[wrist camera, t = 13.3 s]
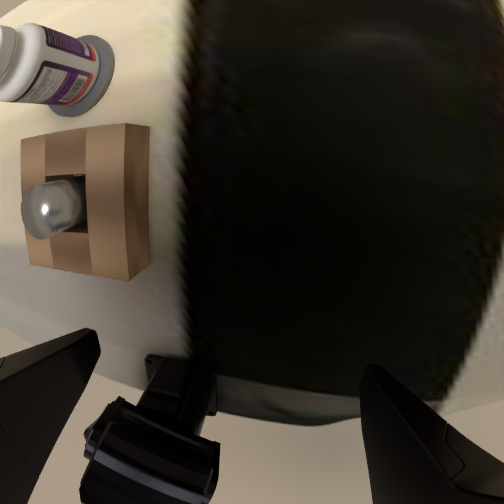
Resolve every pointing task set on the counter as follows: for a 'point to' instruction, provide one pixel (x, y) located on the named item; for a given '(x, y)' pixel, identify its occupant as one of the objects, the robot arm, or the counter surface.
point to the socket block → (95, 198)
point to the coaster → (100, 84)
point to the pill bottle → (45, 66)
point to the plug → (54, 206)
